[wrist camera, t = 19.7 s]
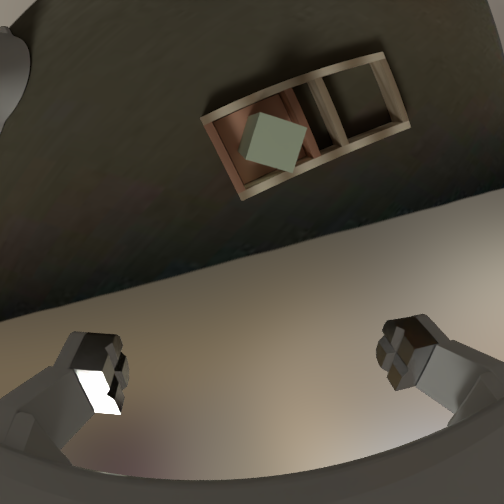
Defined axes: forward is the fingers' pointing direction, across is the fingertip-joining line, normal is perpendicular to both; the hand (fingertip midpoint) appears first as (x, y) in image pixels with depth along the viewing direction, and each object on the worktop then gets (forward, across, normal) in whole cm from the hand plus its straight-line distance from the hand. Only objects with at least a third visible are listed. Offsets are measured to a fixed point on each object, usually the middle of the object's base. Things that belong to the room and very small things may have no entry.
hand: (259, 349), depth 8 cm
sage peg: (+31, -4, -5) cm, 32 cm away
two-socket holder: (+31, -11, -8) cm, 34 cm away
